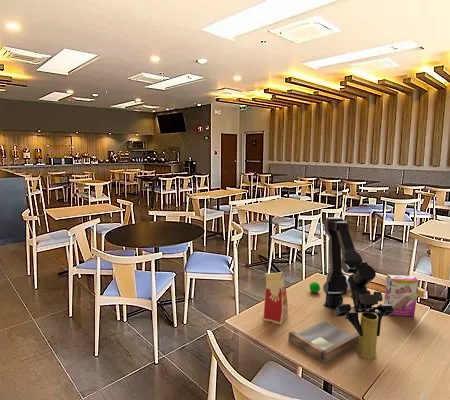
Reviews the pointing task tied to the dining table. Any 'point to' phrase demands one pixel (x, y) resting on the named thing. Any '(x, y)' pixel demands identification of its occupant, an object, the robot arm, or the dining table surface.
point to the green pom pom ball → (314, 287)
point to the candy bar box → (401, 294)
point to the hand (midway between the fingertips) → (370, 336)
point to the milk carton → (275, 298)
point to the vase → (368, 335)
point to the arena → (324, 341)
